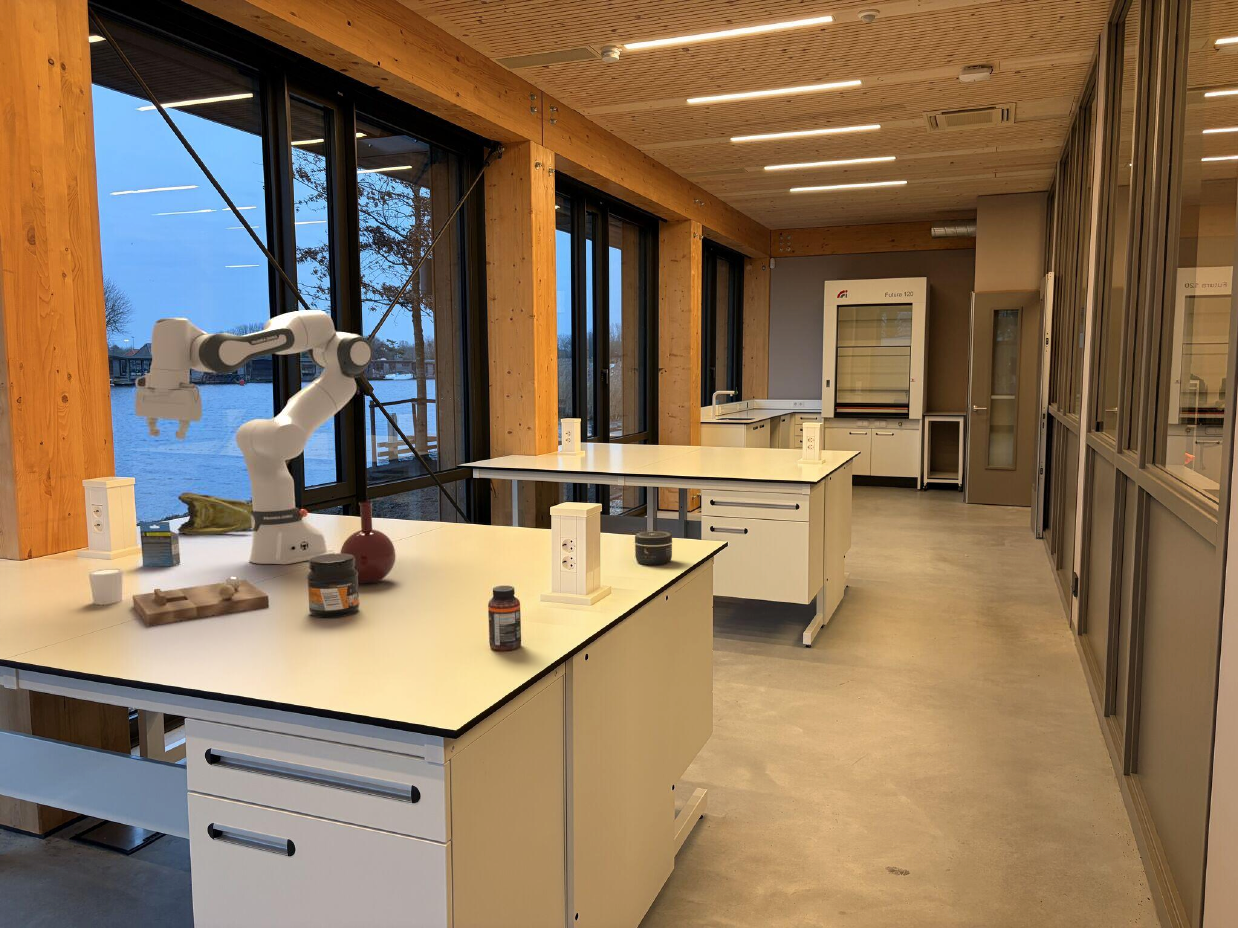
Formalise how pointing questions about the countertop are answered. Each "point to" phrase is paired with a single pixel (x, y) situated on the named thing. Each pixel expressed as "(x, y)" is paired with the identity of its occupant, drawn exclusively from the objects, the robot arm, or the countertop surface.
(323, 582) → the supplement container
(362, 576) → the round-bottom flask
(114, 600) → the white cup
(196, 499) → the crocodile head
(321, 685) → the countertop surface
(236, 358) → the robot arm
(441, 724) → the countertop surface
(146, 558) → the label tape cartridge
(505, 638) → the supplement bottle
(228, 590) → the cork ball
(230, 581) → the steel ball
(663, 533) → the jar
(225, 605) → the board
